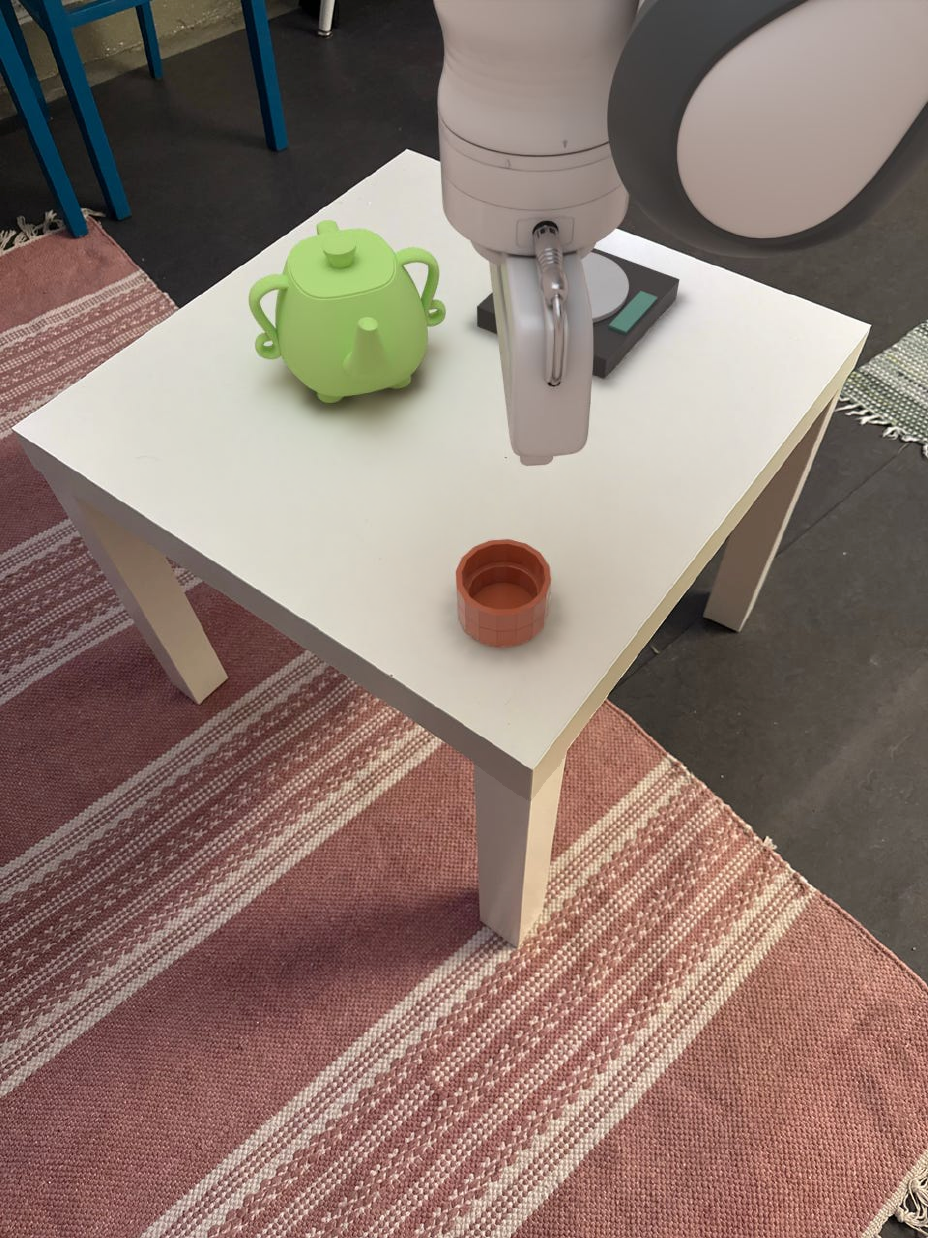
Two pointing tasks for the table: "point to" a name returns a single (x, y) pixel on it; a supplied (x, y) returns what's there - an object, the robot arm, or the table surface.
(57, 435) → the table surface
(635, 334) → the scale
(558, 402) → the robot arm
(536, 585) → the orange cup
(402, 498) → the table surface
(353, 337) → the teapot
